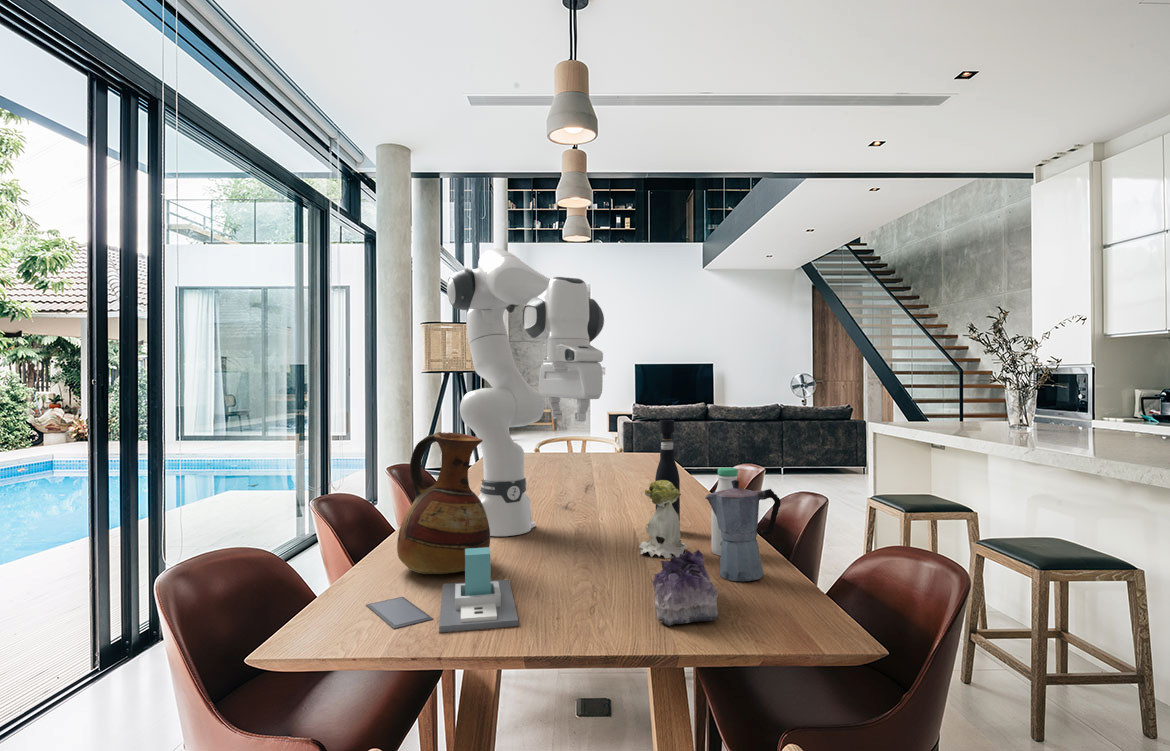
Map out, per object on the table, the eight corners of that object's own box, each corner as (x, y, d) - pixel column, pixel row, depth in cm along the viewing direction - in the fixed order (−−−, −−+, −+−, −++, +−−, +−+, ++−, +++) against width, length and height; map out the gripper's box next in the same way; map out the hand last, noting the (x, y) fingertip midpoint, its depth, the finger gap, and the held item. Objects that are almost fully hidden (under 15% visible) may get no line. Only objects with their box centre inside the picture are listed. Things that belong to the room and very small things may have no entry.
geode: (650, 589, 126) (657, 538, 126) (709, 599, 124) (716, 548, 125) (647, 624, 106) (655, 564, 106) (717, 637, 104) (725, 576, 105)
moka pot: (702, 569, 138) (701, 476, 138) (774, 569, 138) (773, 476, 138) (709, 583, 129) (708, 484, 129) (786, 583, 128) (786, 483, 128)
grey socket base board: (443, 588, 126) (442, 573, 126) (508, 584, 129) (508, 569, 129) (439, 632, 105) (439, 614, 105) (518, 625, 107) (518, 608, 107)
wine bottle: (656, 529, 174) (655, 419, 174) (679, 530, 173) (679, 419, 173) (655, 535, 167) (654, 421, 167) (680, 536, 166) (679, 421, 166)
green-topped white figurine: (683, 545, 158) (683, 476, 158) (689, 558, 146) (689, 484, 146) (638, 544, 158) (638, 476, 158) (640, 558, 146) (640, 484, 146)
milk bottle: (745, 558, 146) (745, 471, 146) (711, 556, 147) (710, 470, 147) (744, 549, 153) (743, 466, 153) (711, 548, 155) (710, 465, 155)
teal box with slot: (465, 597, 119) (464, 548, 119) (490, 595, 120) (489, 547, 120) (465, 605, 114) (465, 555, 114) (491, 603, 115) (490, 553, 115)
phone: (393, 632, 106) (393, 627, 106) (366, 608, 117) (366, 604, 117) (433, 623, 111) (433, 618, 111) (402, 600, 122) (402, 596, 122)
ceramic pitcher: (472, 586, 128) (471, 437, 128) (379, 581, 132) (378, 436, 132) (502, 558, 147) (501, 428, 147) (420, 554, 151) (419, 428, 151)
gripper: (531, 354, 141) (531, 417, 141) (581, 352, 123) (581, 423, 123) (556, 355, 144) (556, 416, 144) (608, 352, 127) (608, 422, 127)
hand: (568, 419), depth 134 cm, fingers open, 8 cm apart
